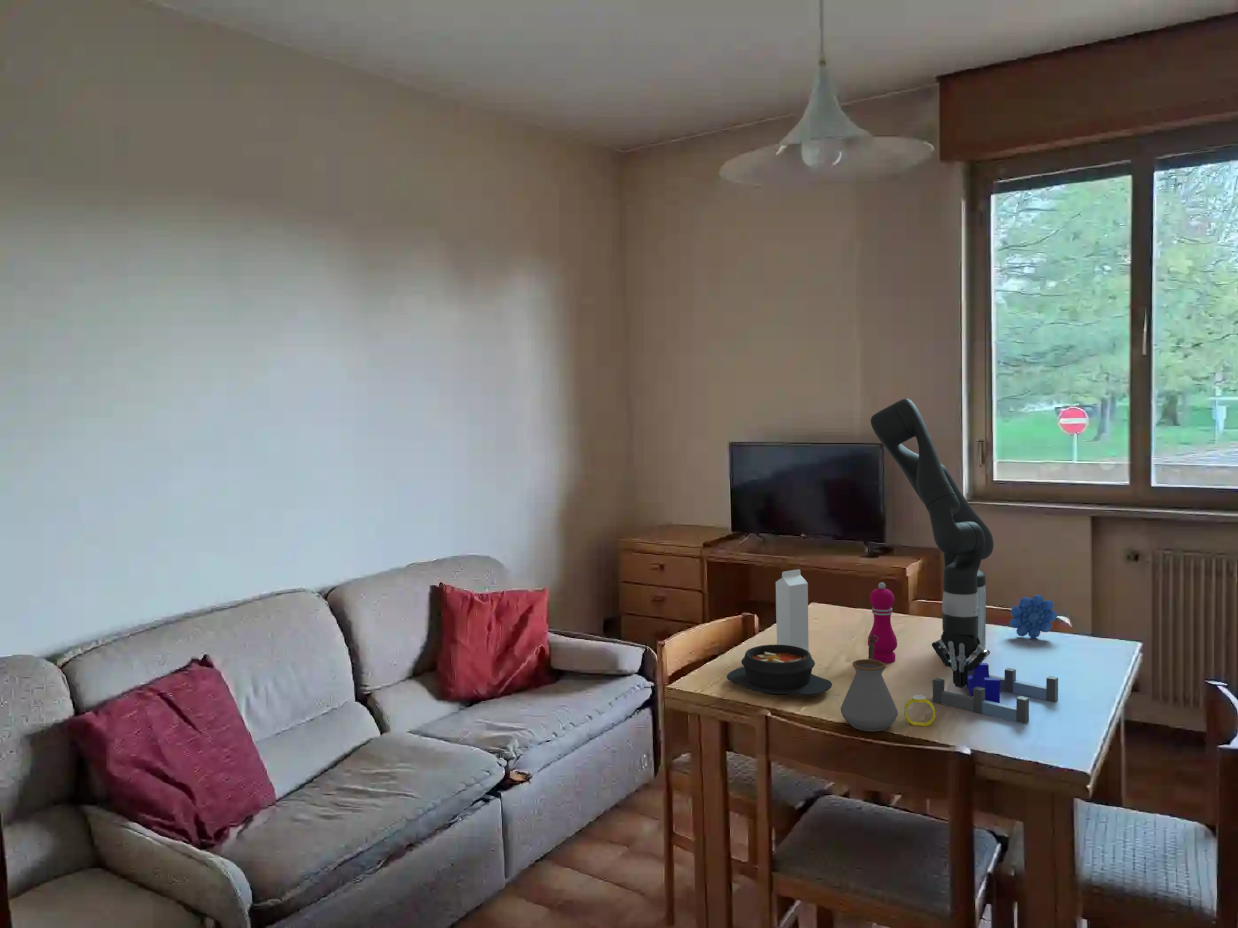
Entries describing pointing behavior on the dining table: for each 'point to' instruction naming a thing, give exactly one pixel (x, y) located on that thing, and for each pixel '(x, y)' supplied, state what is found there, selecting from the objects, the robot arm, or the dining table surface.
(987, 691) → the blue curved block
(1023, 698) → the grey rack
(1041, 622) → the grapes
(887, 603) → the pepper mill
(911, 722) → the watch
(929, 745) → the dining table surface
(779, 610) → the milk
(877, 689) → the coffee pot
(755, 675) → the casserole
